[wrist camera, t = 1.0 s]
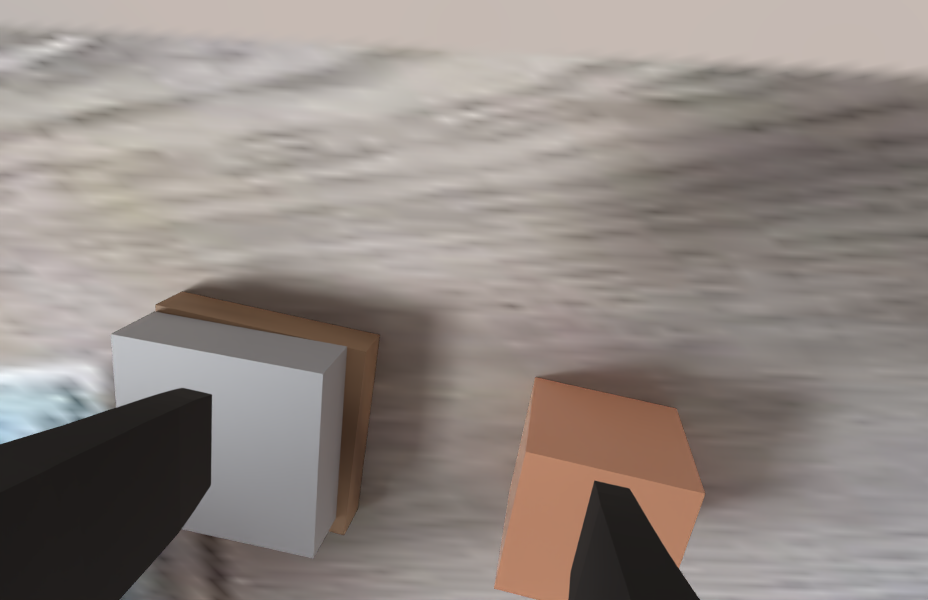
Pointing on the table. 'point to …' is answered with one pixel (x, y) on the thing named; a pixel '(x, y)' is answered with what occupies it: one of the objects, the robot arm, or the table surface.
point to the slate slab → (249, 422)
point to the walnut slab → (356, 377)
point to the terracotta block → (590, 480)
